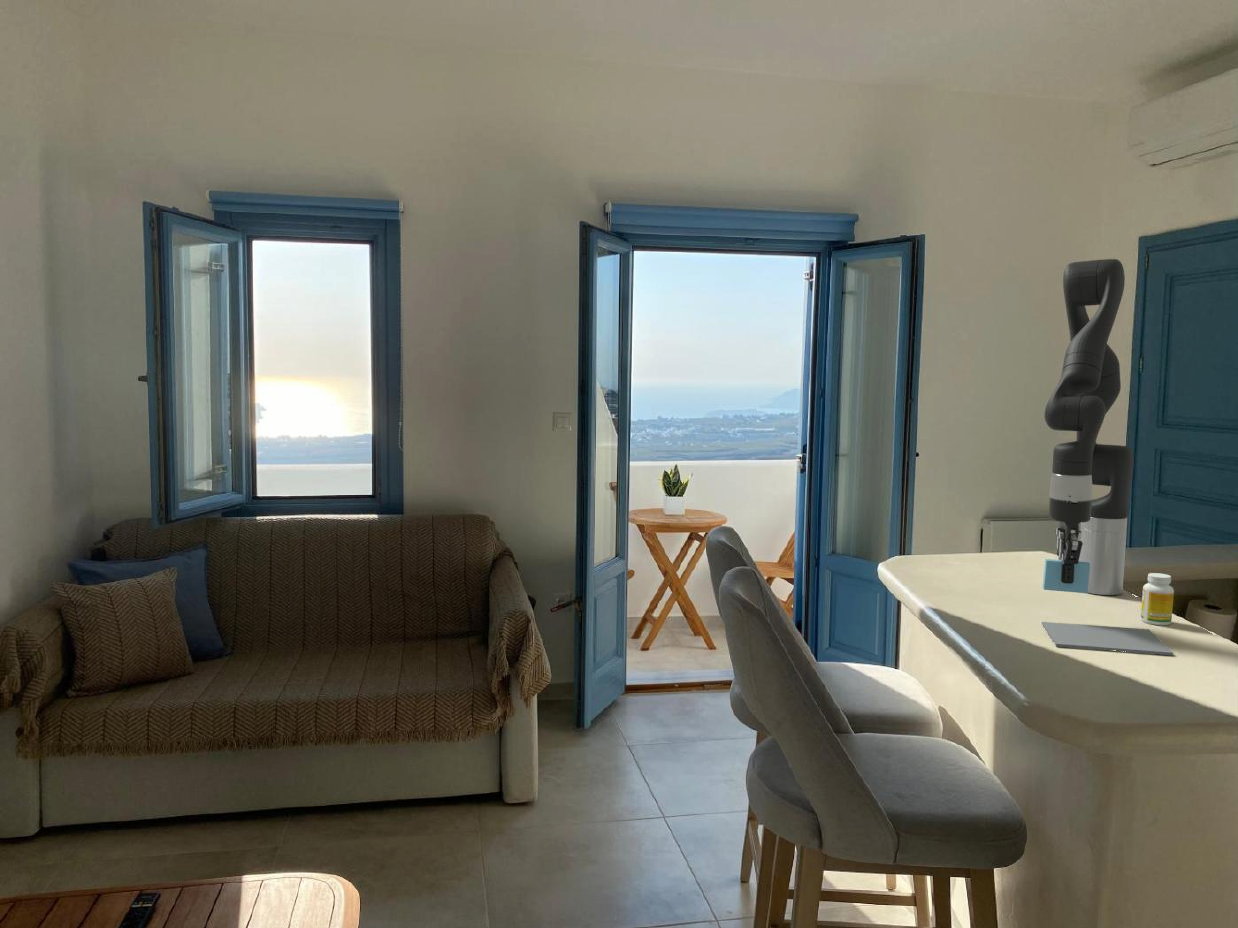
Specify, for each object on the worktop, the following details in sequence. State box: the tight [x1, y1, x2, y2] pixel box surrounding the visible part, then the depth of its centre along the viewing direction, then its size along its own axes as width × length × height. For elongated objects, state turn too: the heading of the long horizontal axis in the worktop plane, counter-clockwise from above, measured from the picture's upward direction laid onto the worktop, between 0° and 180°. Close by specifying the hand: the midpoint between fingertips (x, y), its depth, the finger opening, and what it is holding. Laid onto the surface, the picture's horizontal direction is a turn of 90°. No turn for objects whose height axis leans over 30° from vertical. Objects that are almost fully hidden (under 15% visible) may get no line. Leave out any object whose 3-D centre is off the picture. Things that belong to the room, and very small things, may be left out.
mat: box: [1041, 621, 1174, 656], centre depth 176 cm, size 15×19×1 cm
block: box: [1042, 558, 1090, 594], centre depth 188 cm, size 2×8×6 cm, turn 76°
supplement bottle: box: [1140, 572, 1175, 626], centre depth 188 cm, size 5×5×10 cm
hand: (1066, 581), depth 188 cm, fingers closed on block, 1 cm apart
